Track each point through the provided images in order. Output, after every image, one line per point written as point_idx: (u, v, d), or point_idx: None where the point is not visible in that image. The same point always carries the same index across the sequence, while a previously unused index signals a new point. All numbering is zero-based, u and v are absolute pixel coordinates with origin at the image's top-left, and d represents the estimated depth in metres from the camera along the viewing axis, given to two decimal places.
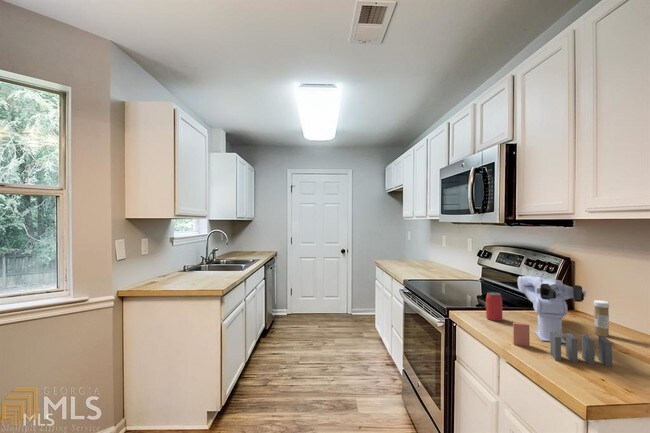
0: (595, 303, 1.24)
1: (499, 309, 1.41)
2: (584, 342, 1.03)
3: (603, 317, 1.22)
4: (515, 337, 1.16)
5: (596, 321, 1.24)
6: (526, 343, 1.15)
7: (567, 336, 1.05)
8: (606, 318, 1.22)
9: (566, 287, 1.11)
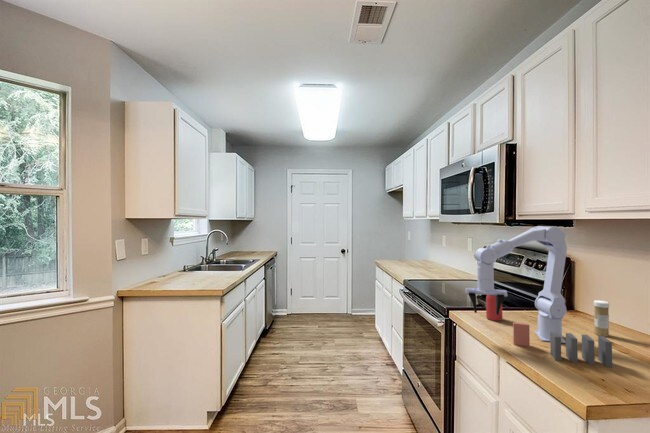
0: (595, 303, 1.24)
1: None
2: (584, 342, 1.03)
3: (603, 317, 1.22)
4: (515, 337, 1.16)
5: (596, 321, 1.24)
6: (526, 343, 1.15)
7: (567, 336, 1.05)
8: (606, 318, 1.22)
9: None
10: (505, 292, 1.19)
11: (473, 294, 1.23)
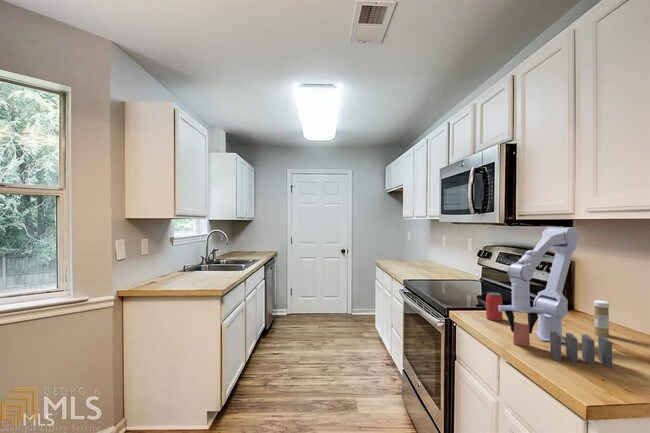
0: (595, 303, 1.24)
1: None
2: (584, 342, 1.03)
3: (603, 317, 1.22)
4: (515, 337, 1.16)
5: (596, 321, 1.24)
6: (526, 343, 1.15)
7: (567, 336, 1.05)
8: (606, 318, 1.22)
9: None
10: (542, 310, 1.13)
11: (507, 312, 1.17)
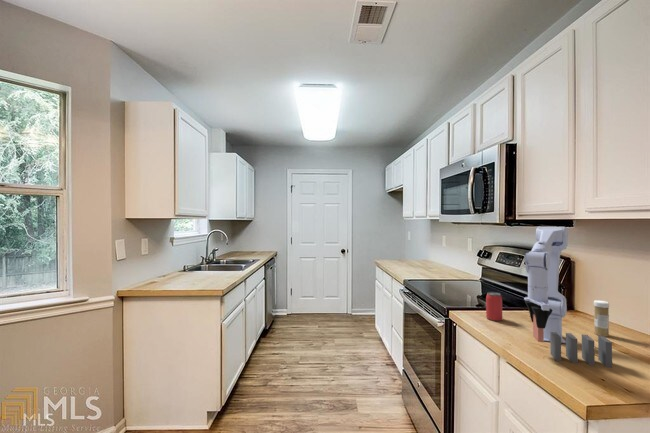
0: (595, 303, 1.24)
1: (499, 309, 1.41)
2: (584, 342, 1.03)
3: (603, 317, 1.22)
4: (533, 328, 1.10)
5: (596, 321, 1.24)
6: (537, 337, 1.07)
7: (567, 336, 1.05)
8: (606, 318, 1.22)
9: None
10: (541, 305, 1.02)
11: None
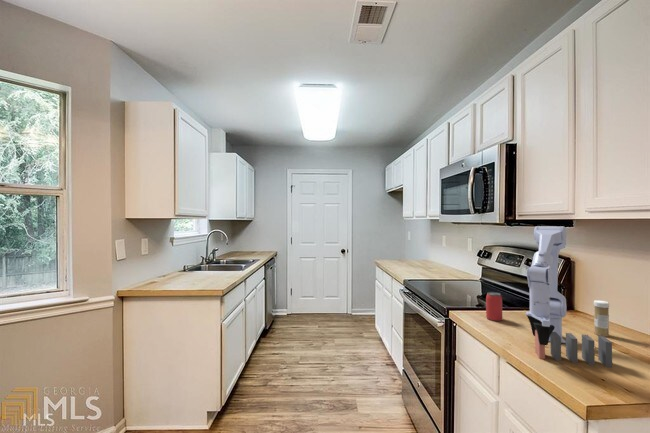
0: (595, 303, 1.24)
1: (499, 309, 1.41)
2: (584, 342, 1.03)
3: (603, 317, 1.22)
4: (535, 344, 1.10)
5: (596, 321, 1.24)
6: (538, 354, 1.06)
7: (567, 336, 1.05)
8: (606, 318, 1.22)
9: None
10: (542, 320, 1.01)
11: None
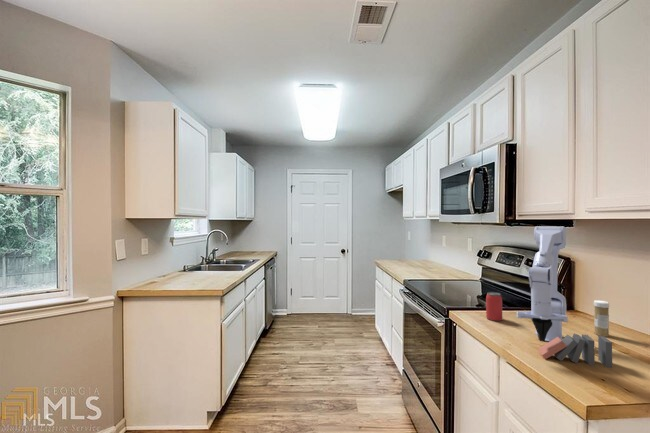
0: (595, 303, 1.24)
1: (499, 309, 1.41)
2: None
3: (603, 317, 1.22)
4: (545, 345, 1.09)
5: (596, 321, 1.24)
6: (543, 352, 1.06)
7: (575, 336, 1.05)
8: (606, 318, 1.22)
9: None
10: (565, 317, 1.04)
11: None
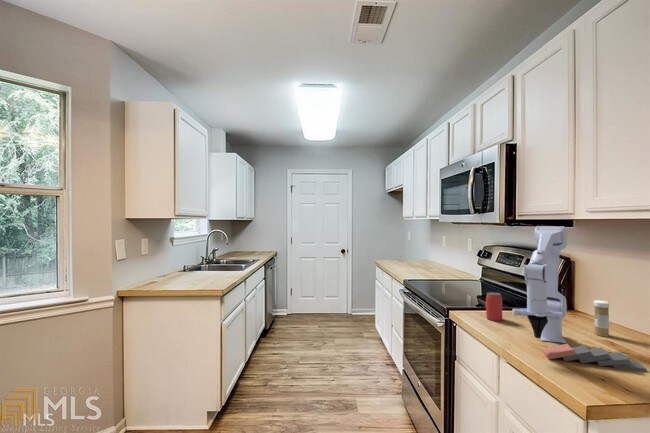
0: (595, 303, 1.24)
1: (499, 309, 1.41)
2: (617, 355, 1.00)
3: (603, 317, 1.22)
4: (551, 347, 1.08)
5: (596, 321, 1.24)
6: (548, 353, 1.05)
7: (601, 349, 1.02)
8: (606, 318, 1.22)
9: None
10: (560, 314, 1.05)
11: None
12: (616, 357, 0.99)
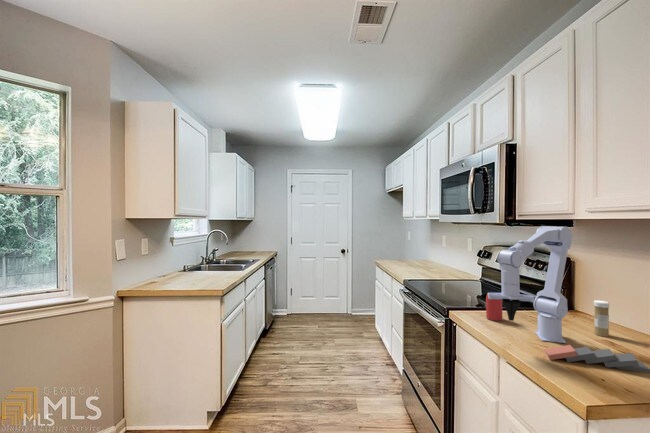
0: (595, 303, 1.24)
1: (499, 309, 1.41)
2: (626, 356, 0.98)
3: (603, 317, 1.22)
4: (553, 348, 1.08)
5: (596, 321, 1.24)
6: (550, 353, 1.05)
7: (608, 351, 1.01)
8: (606, 318, 1.22)
9: (518, 298, 1.11)
10: (532, 297, 1.11)
11: None
12: (624, 358, 0.97)
